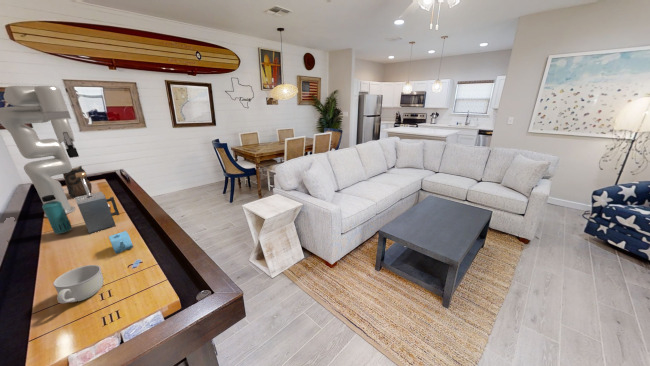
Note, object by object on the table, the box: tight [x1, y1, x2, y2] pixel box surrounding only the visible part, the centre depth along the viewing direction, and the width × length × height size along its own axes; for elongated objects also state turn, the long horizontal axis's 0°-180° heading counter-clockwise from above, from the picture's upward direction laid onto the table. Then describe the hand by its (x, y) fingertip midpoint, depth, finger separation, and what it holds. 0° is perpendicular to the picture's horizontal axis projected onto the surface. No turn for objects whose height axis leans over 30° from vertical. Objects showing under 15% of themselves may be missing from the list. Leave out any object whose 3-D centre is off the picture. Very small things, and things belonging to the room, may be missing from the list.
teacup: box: [52, 264, 104, 304], centre depth 76 cm, size 14×11×8 cm
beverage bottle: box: [41, 195, 73, 235], centre depth 114 cm, size 6×7×20 cm
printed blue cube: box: [108, 230, 134, 255], centre depth 101 cm, size 12×6×8 cm, turn 48°
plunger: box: [75, 171, 92, 198], centre depth 115 cm, size 8×8×18 cm
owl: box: [62, 165, 93, 199], centre depth 162 cm, size 13×13×20 cm
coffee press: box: [74, 191, 120, 235], centre depth 120 cm, size 10×13×17 cm
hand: (74, 156), depth 109 cm, fingers closed
